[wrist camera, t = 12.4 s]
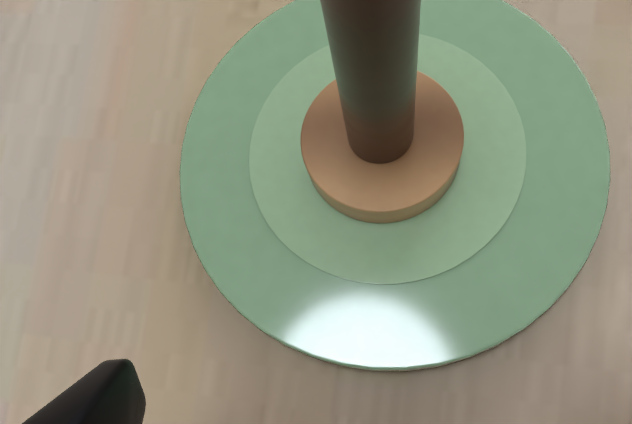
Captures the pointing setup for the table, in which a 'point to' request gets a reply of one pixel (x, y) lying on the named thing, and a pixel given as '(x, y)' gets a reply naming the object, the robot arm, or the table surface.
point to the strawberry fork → (380, 117)
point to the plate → (411, 234)
